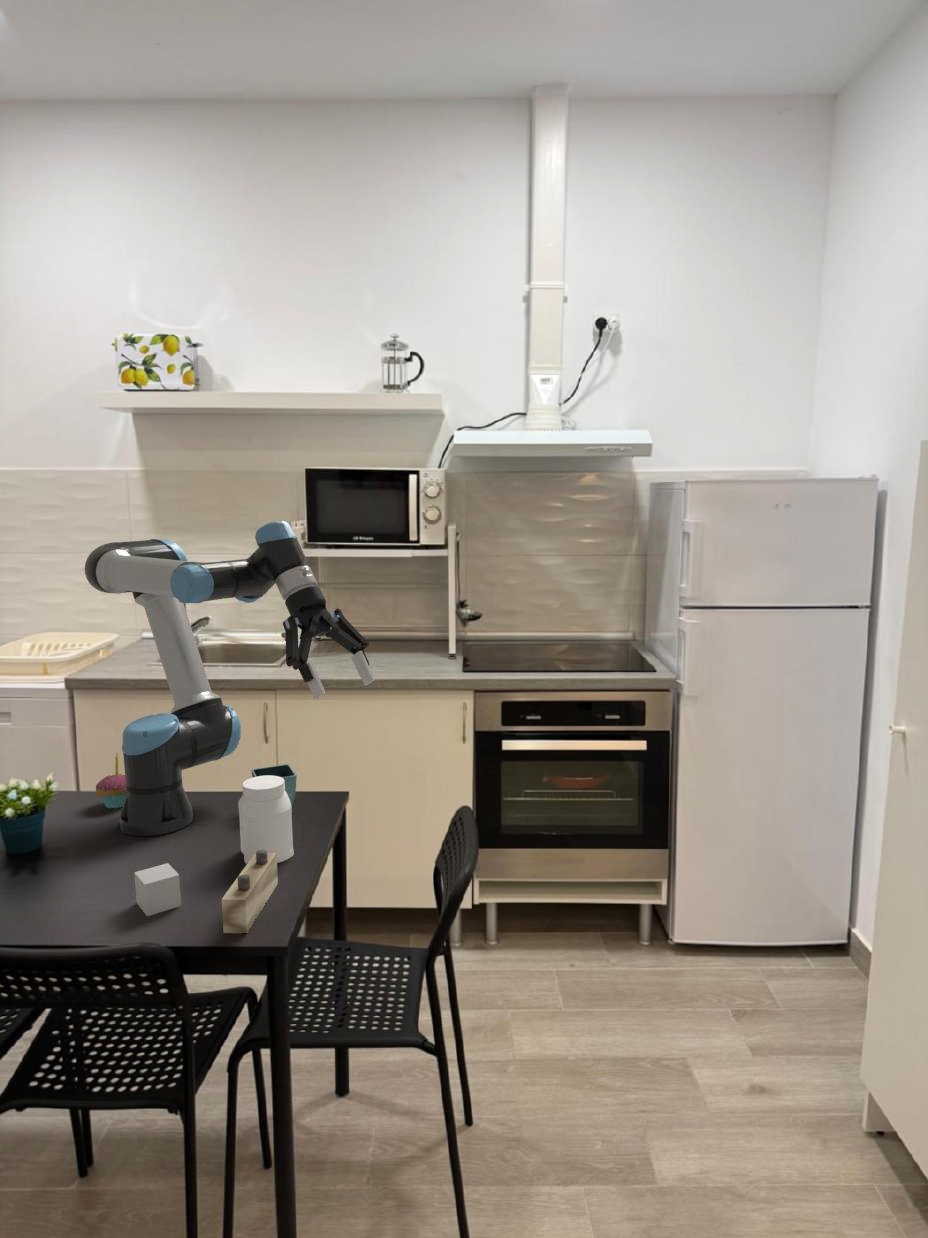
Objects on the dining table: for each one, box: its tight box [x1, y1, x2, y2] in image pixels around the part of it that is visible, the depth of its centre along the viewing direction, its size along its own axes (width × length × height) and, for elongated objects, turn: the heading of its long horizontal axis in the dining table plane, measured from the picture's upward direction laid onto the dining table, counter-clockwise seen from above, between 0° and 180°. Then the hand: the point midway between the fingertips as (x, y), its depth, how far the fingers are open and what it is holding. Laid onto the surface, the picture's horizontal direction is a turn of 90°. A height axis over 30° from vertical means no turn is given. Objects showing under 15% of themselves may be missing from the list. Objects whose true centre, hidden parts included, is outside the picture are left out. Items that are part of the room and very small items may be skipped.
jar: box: [237, 775, 295, 865], centre depth 172 cm, size 12×10×15 cm
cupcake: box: [95, 752, 126, 809], centre depth 199 cm, size 9×8×12 cm
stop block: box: [221, 850, 279, 934], centre depth 151 cm, size 4×18×8 cm, turn 176°
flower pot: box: [251, 763, 298, 807], centre depth 196 cm, size 9×9×9 cm
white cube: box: [133, 862, 182, 917], centre depth 152 cm, size 6×6×6 cm
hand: (346, 689), depth 166 cm, fingers open, 13 cm apart
